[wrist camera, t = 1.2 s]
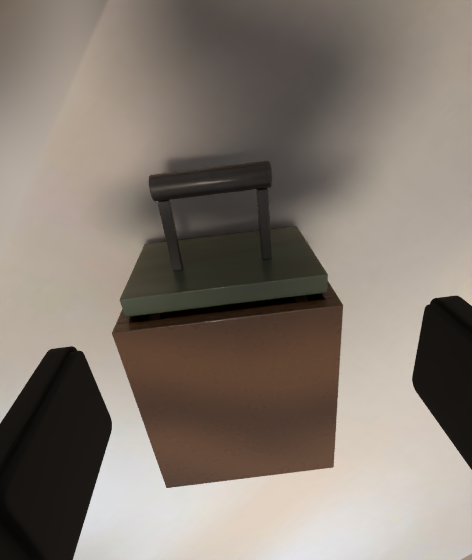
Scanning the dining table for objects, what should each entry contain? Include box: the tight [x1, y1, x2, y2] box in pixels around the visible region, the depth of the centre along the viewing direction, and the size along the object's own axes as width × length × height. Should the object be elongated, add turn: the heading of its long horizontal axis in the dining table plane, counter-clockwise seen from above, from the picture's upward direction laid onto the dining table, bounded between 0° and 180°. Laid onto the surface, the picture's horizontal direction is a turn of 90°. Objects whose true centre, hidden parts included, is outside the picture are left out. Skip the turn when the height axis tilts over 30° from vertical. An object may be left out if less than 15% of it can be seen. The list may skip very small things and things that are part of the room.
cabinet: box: [112, 281, 343, 488], centre depth 26 cm, size 15×13×10 cm
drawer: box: [120, 161, 328, 321], centre depth 24 cm, size 19×11×8 cm, turn 6°
